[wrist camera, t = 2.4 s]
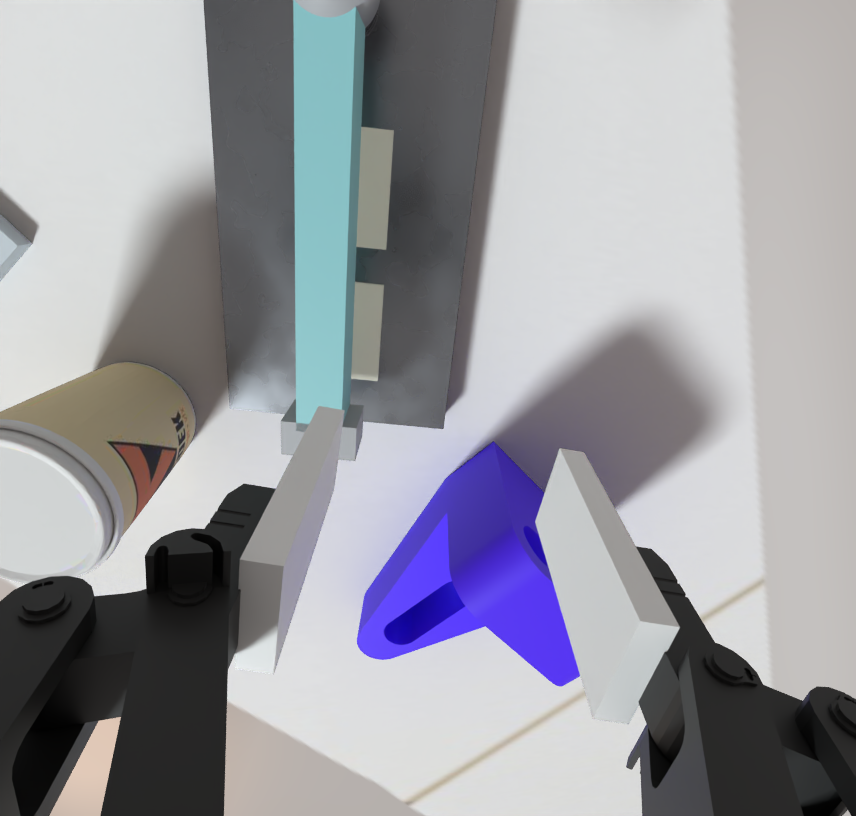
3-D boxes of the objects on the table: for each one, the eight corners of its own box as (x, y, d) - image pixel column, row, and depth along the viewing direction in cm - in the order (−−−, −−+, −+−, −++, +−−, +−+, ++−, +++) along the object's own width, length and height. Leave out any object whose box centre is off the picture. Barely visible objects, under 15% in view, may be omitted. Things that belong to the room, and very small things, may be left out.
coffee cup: (188, 489, 38) (90, 613, 27) (61, 439, 37) (-97, 550, 26) (225, 385, 35) (129, 479, 24) (86, 325, 33) (-84, 397, 22)
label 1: (298, 120, 27) (296, 119, 26) (393, 130, 27) (393, 130, 27) (298, 240, 29) (297, 240, 29) (386, 249, 29) (385, 249, 29)
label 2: (298, 275, 30) (297, 276, 30) (384, 284, 30) (383, 285, 30) (298, 372, 32) (298, 373, 32) (377, 380, 32) (377, 381, 32)
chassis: (216, -46, 25) (175, -88, 21) (495, -13, 26) (506, -48, 22) (240, 396, 35) (215, 424, 31) (442, 416, 36) (443, 446, 32)
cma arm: (292, -73, 21) (269, -114, 18) (388, -61, 21) (381, -99, 18) (295, 429, 31) (280, 455, 28) (362, 435, 31) (354, 462, 28)
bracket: (493, 440, 37) (517, 549, 26) (583, 532, 40) (638, 664, 29) (323, 573, 42) (284, 710, 31) (414, 645, 45) (408, 792, 34)
